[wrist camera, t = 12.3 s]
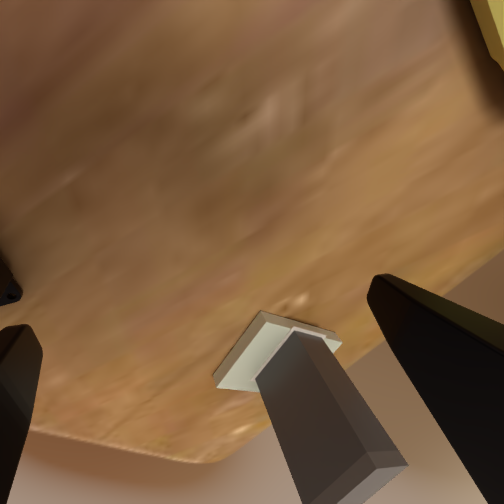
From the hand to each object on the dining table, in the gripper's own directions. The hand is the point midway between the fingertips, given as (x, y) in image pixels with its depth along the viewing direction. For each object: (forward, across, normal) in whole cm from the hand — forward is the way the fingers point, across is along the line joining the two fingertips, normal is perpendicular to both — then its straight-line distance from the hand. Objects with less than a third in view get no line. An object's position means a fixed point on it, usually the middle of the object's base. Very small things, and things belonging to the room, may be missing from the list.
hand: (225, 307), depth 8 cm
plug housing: (+12, -9, +20) cm, 25 cm away
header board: (+13, -8, +21) cm, 26 cm away
